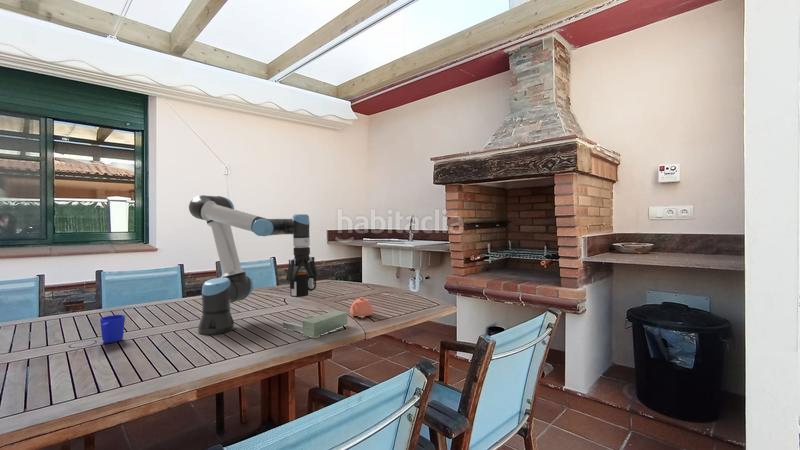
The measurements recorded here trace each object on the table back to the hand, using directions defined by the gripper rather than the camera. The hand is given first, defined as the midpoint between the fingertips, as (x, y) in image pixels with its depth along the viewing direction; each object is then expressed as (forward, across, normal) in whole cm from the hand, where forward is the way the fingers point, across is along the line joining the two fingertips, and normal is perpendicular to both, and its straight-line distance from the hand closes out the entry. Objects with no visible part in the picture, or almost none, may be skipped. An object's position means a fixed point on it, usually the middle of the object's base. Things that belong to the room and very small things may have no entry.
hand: (302, 293), depth 173 cm
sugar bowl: (+17, +32, -9) cm, 37 cm away
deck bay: (+17, +3, -4) cm, 17 cm away
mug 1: (+15, -60, +50) cm, 79 cm away
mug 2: (+1, +1, 0) cm, 1 cm away
